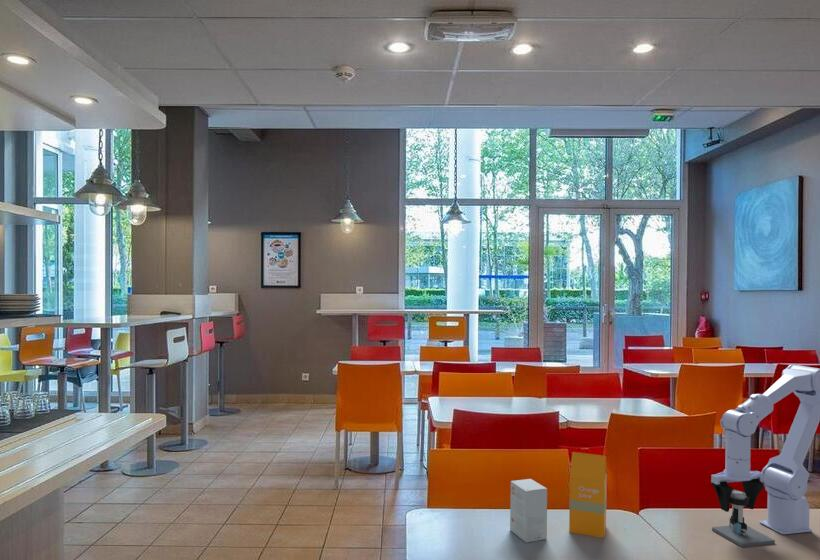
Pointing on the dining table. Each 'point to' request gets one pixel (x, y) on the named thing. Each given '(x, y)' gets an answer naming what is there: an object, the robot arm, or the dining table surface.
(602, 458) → the orange juice
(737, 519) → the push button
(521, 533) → the small box
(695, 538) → the dining table surface
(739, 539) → the rubber pad
